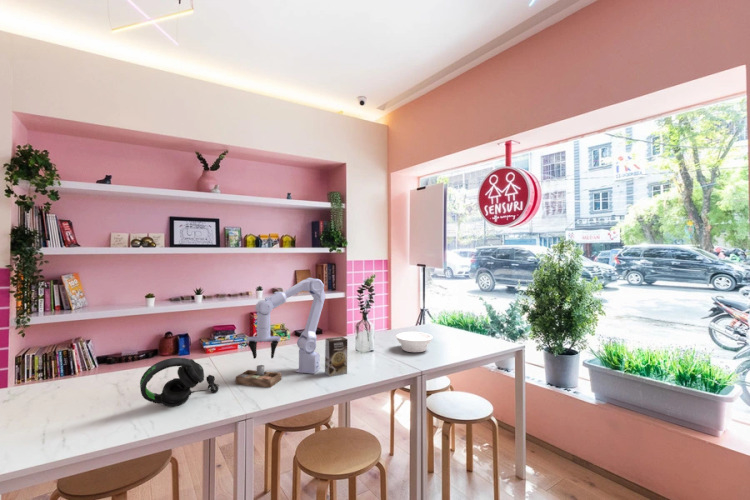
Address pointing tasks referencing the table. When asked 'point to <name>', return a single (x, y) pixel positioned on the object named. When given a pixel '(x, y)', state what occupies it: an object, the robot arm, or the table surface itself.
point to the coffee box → (335, 356)
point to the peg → (260, 370)
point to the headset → (176, 382)
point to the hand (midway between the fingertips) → (263, 357)
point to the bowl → (414, 341)
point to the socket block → (258, 378)
